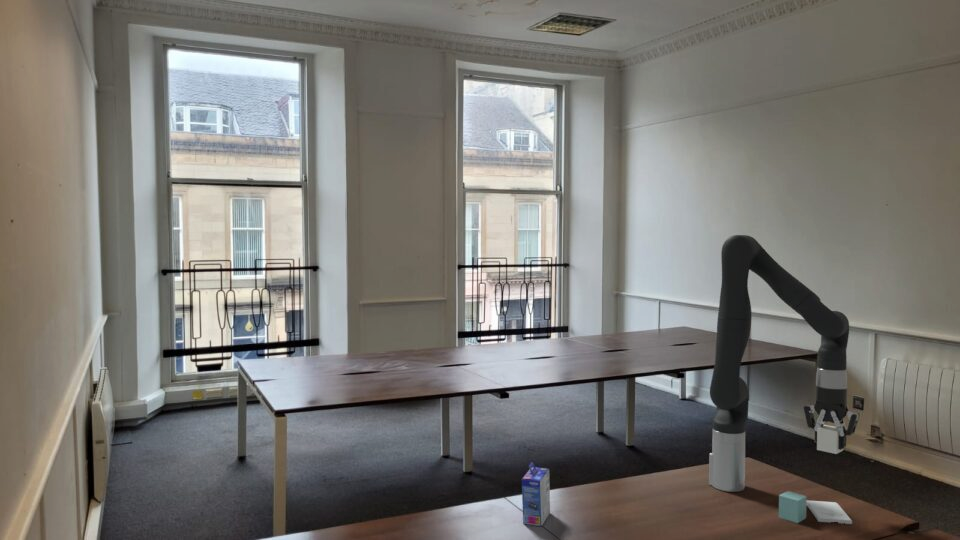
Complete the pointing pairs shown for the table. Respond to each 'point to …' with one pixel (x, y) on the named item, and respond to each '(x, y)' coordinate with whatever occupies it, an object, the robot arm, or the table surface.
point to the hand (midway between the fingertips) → (830, 446)
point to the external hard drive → (828, 512)
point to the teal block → (792, 506)
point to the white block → (828, 439)
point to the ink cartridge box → (535, 495)
